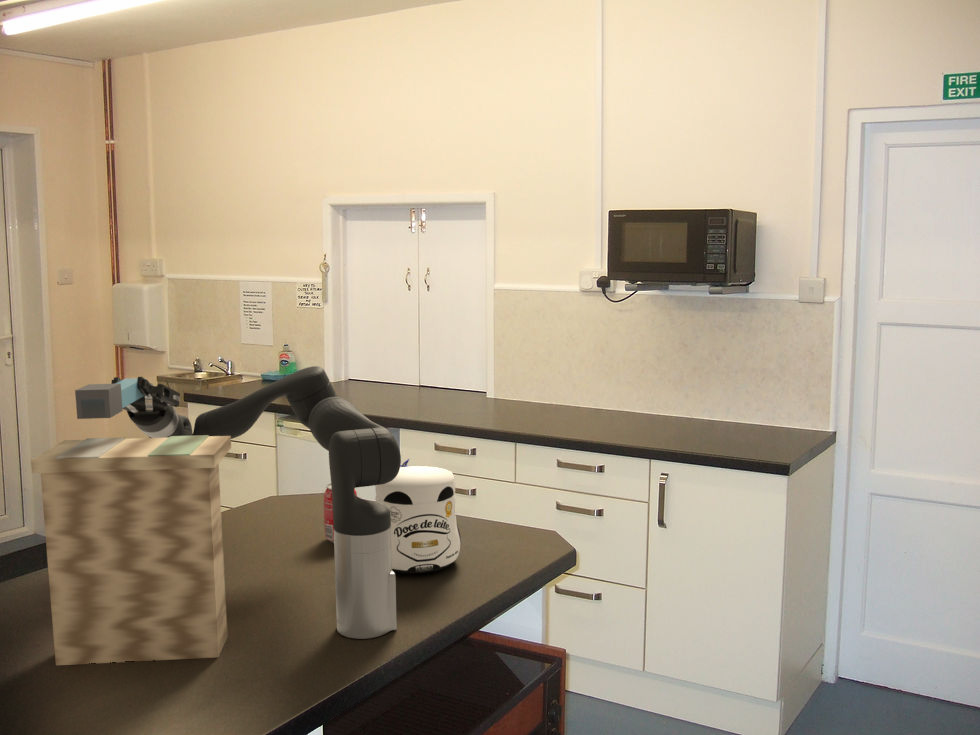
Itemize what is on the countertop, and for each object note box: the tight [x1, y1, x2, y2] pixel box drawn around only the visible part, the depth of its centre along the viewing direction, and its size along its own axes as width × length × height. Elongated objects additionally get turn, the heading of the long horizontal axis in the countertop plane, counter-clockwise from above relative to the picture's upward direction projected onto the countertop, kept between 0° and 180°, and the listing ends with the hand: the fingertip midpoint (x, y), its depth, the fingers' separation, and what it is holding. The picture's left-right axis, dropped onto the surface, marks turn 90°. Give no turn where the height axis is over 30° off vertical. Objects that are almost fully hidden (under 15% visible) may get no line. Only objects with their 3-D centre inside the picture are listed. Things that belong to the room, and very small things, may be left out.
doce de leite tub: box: [375, 465, 462, 574], centre depth 174 cm, size 17×17×18 cm
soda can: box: [323, 482, 358, 544], centre depth 189 cm, size 7×7×12 cm
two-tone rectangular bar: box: [74, 377, 146, 420], centre depth 149 cm, size 5×22×4 cm, turn 5°
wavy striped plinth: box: [30, 435, 232, 666], centre depth 139 cm, size 26×13×32 cm, turn 96°
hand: (127, 382), depth 155 cm, fingers closed on two-tone rectangular bar, 3 cm apart
